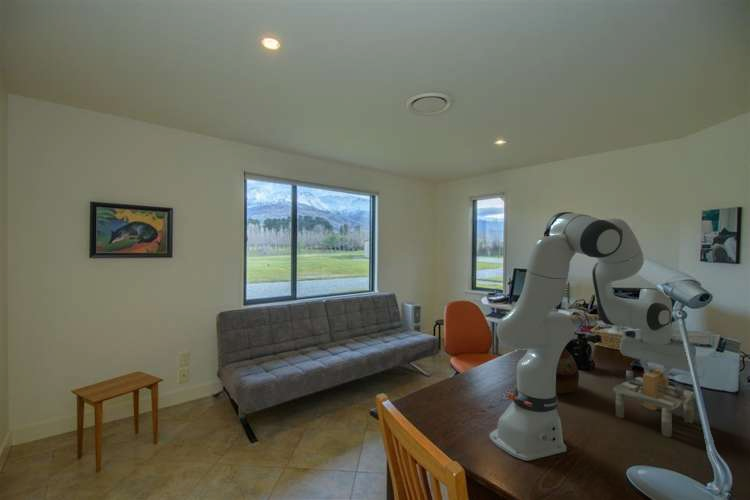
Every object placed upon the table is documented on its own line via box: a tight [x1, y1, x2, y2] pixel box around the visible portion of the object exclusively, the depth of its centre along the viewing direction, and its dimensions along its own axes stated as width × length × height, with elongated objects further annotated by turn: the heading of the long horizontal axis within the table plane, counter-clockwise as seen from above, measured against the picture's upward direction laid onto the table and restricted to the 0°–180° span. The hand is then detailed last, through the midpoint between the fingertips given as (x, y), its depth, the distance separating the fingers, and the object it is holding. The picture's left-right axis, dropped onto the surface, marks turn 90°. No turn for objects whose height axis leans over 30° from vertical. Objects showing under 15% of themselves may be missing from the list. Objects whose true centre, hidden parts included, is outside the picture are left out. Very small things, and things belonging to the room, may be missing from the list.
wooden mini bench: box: [642, 368, 670, 411], centre depth 110 cm, size 10×3×11 cm, turn 117°
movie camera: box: [564, 330, 603, 371], centre depth 167 cm, size 31×18×18 cm, turn 36°
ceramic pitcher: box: [556, 348, 580, 394], centre depth 138 cm, size 20×20×30 cm
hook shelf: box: [613, 370, 696, 438], centre depth 111 cm, size 18×16×14 cm
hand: (655, 375), depth 110 cm, fingers closed on wooden mini bench, 3 cm apart
